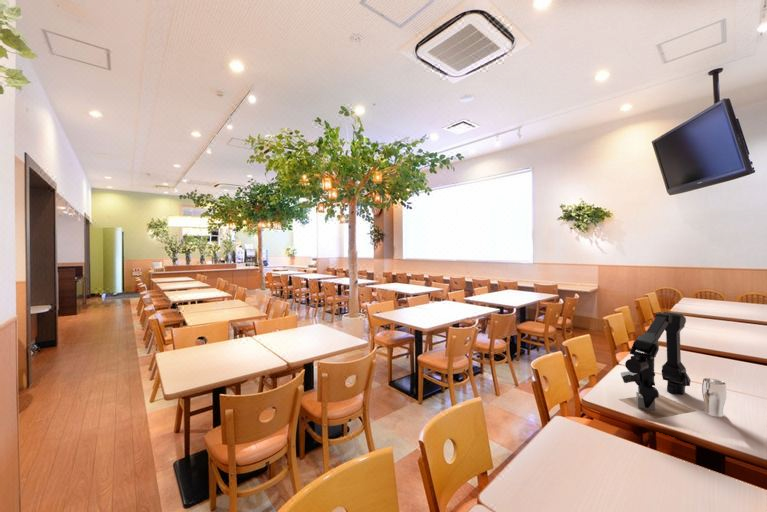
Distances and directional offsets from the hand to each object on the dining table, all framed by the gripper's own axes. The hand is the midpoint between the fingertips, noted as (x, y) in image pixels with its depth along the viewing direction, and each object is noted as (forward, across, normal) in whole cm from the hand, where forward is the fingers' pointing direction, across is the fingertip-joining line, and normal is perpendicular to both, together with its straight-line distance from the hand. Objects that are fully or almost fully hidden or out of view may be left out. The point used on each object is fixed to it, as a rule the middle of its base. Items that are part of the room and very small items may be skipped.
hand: (645, 403), depth 137 cm
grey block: (+1, 0, 0) cm, 1 cm away
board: (+3, -4, +4) cm, 7 cm away
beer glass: (+3, -7, +23) cm, 24 cm away
